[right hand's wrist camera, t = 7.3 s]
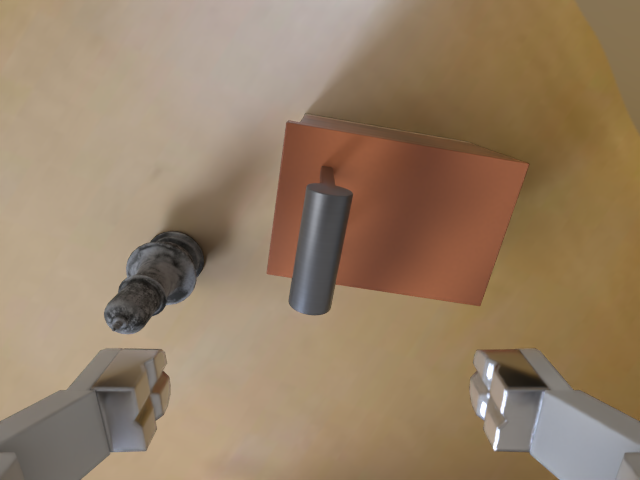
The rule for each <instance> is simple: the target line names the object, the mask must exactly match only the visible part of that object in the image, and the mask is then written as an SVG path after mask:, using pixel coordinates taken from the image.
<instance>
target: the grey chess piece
mask: <svg viewBox="0 0 640 480" xmlns="http://www.w3.org/2000/svg"><path fill="white" fill-rule="evenodd" d="M203 265H204V256H203V253H202V250H201V248H200V247H199V245H198V244H197V243H196V242H195V241H194V240H193V239H192V238H191V237H189V236H187V235H186V234H183V233H180V232H172V231H170V232H164V233H161V234H159V235H157V236H156V237H155V238H154V239H153V240H151V242H150V243H146V244H144V245H142V246H139V247H138V248H137V249H136V250H135V251H133V252H132V254H131V255H130V257H129V259H128V262H127V267H126V270H127V278H126V279H125V280H124V281H122V283H121V285H120V286H119V291H118V294H117V295H116V296H115V297H114V298H113V299H112V300H111V301H110V302H109V303H108V305H107V306H106V308H105V312H104V317H105V320H106V323H107V324H108V326H109V327H110V328H111V329H112V331H116V332H118V333H121V334H134V333H136V332H138V331H140V330H141V329H142V328H143V327H144V326H145V325H146V323H147V322H148V321H149V319H150V318H151V317H152V316H154V315H157V314H159V313H160V312H161V311H162V310H163V309H164V307H165V306H166V305H171V304H176V303H179V302H181V301H183V300H185V299H186V298H187V297H188V296H189V295H190V294H191V293H192V291H193V290H194V288H195V284H196V277H198V276H199V274H200V272H201V271H202V269H203Z"/></svg>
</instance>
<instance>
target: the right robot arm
mask: <svg viewBox="0 0 640 480" xmlns="http://www.w3.org/2000/svg"><path fill="white" fill-rule="evenodd" d="M166 364H167V360H166V355H165V352H164V351H163V350H162V349H122V348H106V349H103V350H100V351H99V353H98V354H97V355H96V356H95V357H94V358H93V360H92V361H91V362H90V363H89V364H88V365H87V367H86V368H85V369H84V370H83V371H82V372H81V374H80V375H79V376H78V377H77V378H76V379H75V381H74V382H73V383H72V384H71V385H70V386H69V388H68V389H67V390H60V391H58V392H56V393H54V394H52V395H50V396H48V397H46V398H44V399H42V400H40V401H38V402H36V403H35V404H33V405H31V406H29V407H27V408H25V409H23V410H21V411H19V412H17V413H15V414H13V415H12V416H10V417H8V418H6V419H4V420H2V421H0V480H81V479H82V478H83V477H84V476H85V475H86V474H88V473H89V472H90V471H91V470H92V469H93V468H95V467H96V466H97V465H98V464H99V463H100V462H102V461H103V460H104V459H105V458H106V457H107V456H109V455H110V452H132V451H146V450H147V448H148V446H149V444H150V442H151V440H152V438H153V436H154V434H155V432H156V430H157V426H156V420H157V419H159V418H160V417H161V416H163V415H164V413H165V411H166V409H167V407H168V403H169V398H170V378H169V376H168V375H167V374H166V373H165V372H164V371H163V369H164V368H165V366H166ZM473 364H474V366H475V368H476V369H477V371H476V372H475V373H474V374H473V375H472V376H471V378H470V387H469V390H470V399H471V403H472V406H473V409H474V411H475V413H476V415H477V416H479V417H480V418H481V419H483V420H484V426H483V430H484V432H485V434H486V436H487V438H488V440H489V442H490V444H491V446H492V448H493V450H494V451H507V452H530V454H531V455H532V456H533V457H534V458H535V459H536V460H537V461H539V462H540V463H541V464H542V465H543V466H544V467H546V468H547V469H548V470H549V471H550V472H551V473H553V474H554V475H555V476H556V477H557V478H558V479H559V480H640V421H638V420H636V419H634V418H632V417H630V416H628V415H626V414H624V413H623V412H621V411H619V410H617V409H615V408H613V407H611V406H609V405H607V404H605V403H603V402H602V401H600V400H598V399H596V398H594V397H592V396H590V395H588V394H586V393H584V392H582V391H580V390H573V389H572V388H571V386H570V385H569V384H568V383H567V382H566V381H565V379H564V378H563V377H562V376H561V375H560V374H559V372H558V371H557V370H556V369H555V368H554V367H553V365H552V364H551V363H550V362H549V361H548V360H547V358H546V357H545V356H544V355H543V354H542V353H541V351H539V350H538V349H536V348H525V349H499V350H476V352H475V355H474V360H473Z"/></svg>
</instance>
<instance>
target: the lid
mask: <svg viewBox="0 0 640 480" xmlns="http://www.w3.org/2000/svg"><path fill="white" fill-rule="evenodd" d="M528 167H529V163H526V162H523V161H520V160H516V159H510V158H504V157H498V156H492V155H487V154H481V153H475V152H469V151H463V150H458V149H452V148H446V147H440V146H434V145H428V144H423V143H417V142H411V141H405V140H399V139H393V138H388V137H382V136H376V135H370V134H364V133H359V132H353V131H347V130H341V129H335V128H329V127H324V126H318V125H312V124H306V123H300V122H295V121H287V123H286V129H285V137H284V144H283V152H282V160H281V167H280V175H279V183H278V190H277V198H276V205H275V213H274V221H273V228H272V236H271V244H270V251H269V259H268V266H267V274H270V275H276V276H283V277H290V278H292V282H291V289H290V295H289V304H290V306H291V307H292V308H293V309H294V310H296V311H298V312H300V313H303V314H307V315H322V314H325V313H327V312H328V311H329V310H330V308H331V304H332V299H333V294H334V289H335V284H336V285H343V286H350V287H356V288H363V289H370V290H376V291H383V292H390V293H396V294H403V295H410V296H416V297H423V298H430V299H436V300H443V301H450V302H456V303H463V304H470V305H476V306H480V305H481V302H482V299H483V296H484V294H485V291H486V288H487V285H488V282H489V279H490V276H491V273H492V270H493V268H494V265H495V262H496V259H497V256H498V253H499V250H500V247H501V245H502V242H503V239H504V236H505V233H506V230H507V227H508V224H509V221H510V219H511V216H512V213H513V210H514V207H515V204H516V201H517V198H518V196H519V193H520V190H521V187H522V184H523V181H524V178H525V175H526V172H527V170H528Z"/></svg>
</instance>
